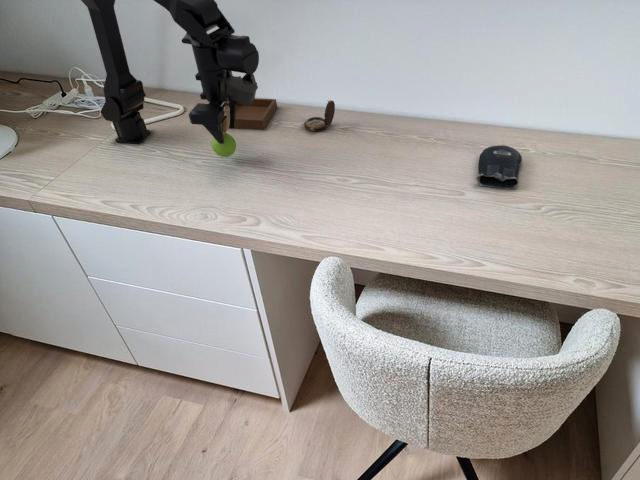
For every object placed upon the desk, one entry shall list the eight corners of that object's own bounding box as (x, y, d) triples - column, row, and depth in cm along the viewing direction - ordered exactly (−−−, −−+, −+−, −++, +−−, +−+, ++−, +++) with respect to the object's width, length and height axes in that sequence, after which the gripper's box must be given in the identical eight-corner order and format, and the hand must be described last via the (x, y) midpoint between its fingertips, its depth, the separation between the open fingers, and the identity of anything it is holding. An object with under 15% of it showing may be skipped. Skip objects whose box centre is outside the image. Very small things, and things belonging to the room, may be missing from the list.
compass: (308, 119, 131) (306, 93, 126) (337, 123, 129) (335, 96, 124) (298, 133, 125) (294, 106, 120) (327, 137, 124) (325, 110, 119)
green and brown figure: (244, 150, 117) (237, 103, 108) (228, 164, 113) (219, 116, 104) (225, 144, 118) (217, 97, 109) (209, 157, 114) (198, 109, 105)
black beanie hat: (519, 196, 106) (522, 153, 115) (520, 176, 102) (523, 132, 111) (475, 195, 109) (481, 153, 118) (475, 175, 105) (481, 133, 114)
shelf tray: (217, 127, 129) (215, 117, 127) (233, 106, 138) (232, 97, 136) (264, 129, 127) (262, 120, 125) (277, 108, 136) (276, 99, 134)
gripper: (233, 87, 94) (248, 159, 105) (262, 51, 107) (272, 118, 118) (178, 84, 95) (198, 155, 106) (213, 49, 109) (228, 116, 119)
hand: (227, 135), depth 112 cm, fingers closed on green and brown figure, 7 cm apart
